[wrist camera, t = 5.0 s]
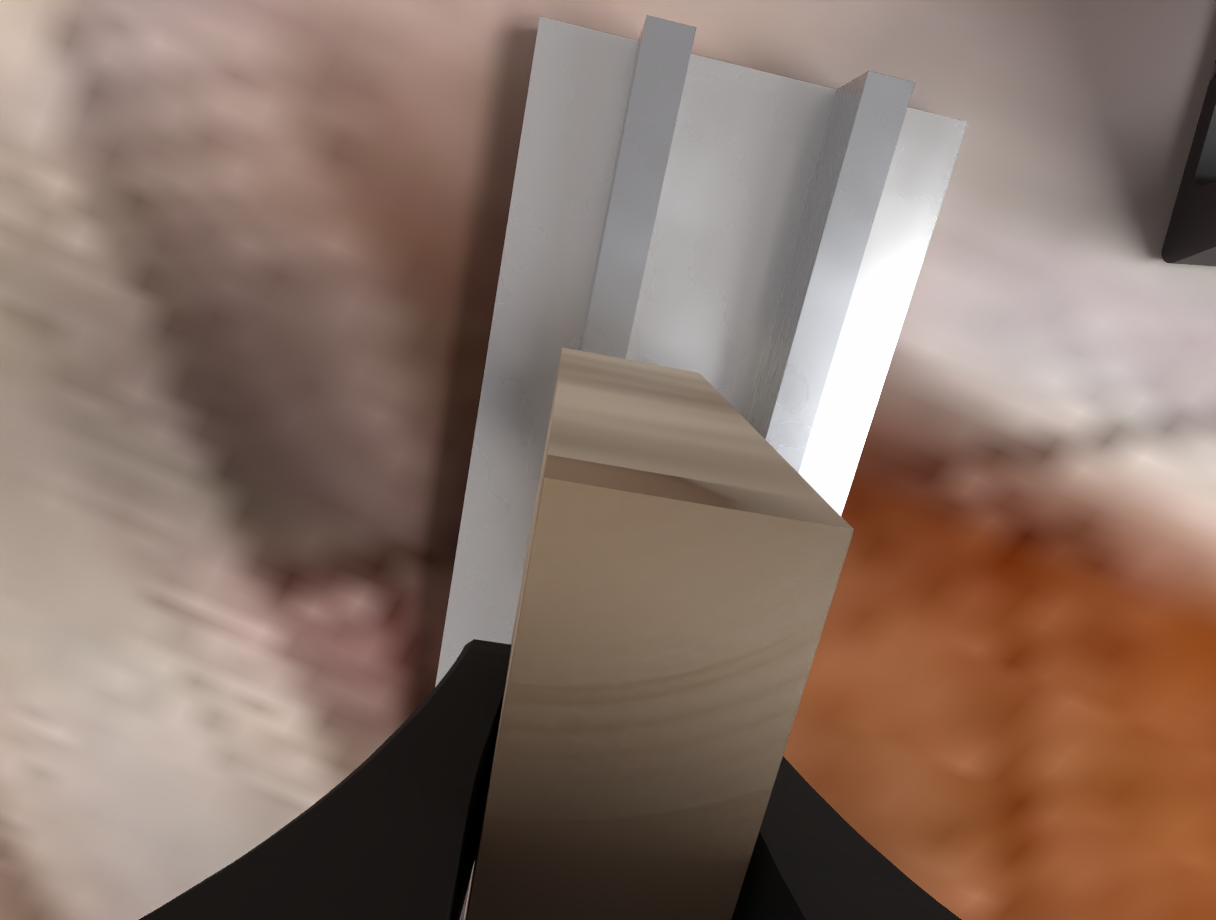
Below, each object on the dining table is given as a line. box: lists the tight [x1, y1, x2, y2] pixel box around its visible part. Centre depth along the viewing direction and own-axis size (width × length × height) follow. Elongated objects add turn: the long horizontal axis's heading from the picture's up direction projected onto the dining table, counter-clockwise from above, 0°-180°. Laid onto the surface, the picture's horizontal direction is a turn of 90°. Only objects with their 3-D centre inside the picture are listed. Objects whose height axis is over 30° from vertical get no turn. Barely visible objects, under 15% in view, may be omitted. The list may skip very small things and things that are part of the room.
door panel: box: [464, 347, 854, 920], centre depth 10 cm, size 10×2×7 cm, turn 169°
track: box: [435, 15, 968, 687], centre depth 18 cm, size 20×10×3 cm, turn 168°
